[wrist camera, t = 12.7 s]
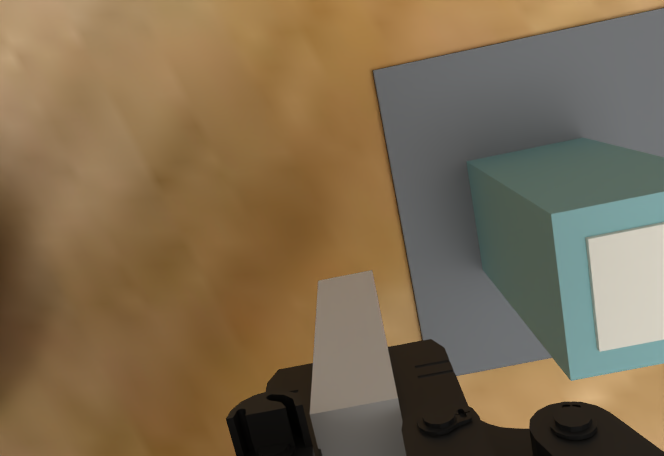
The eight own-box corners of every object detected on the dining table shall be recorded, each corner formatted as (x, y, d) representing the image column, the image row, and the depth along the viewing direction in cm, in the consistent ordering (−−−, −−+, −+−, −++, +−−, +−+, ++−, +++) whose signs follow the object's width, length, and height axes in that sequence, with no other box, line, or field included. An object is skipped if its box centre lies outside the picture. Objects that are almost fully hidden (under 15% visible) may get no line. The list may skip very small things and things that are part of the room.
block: (482, 270, 24) (572, 383, 15) (466, 161, 23) (553, 215, 14) (593, 248, 24) (750, 350, 15) (582, 137, 23) (744, 177, 14)
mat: (429, 376, 26) (430, 380, 25) (372, 70, 23) (373, 70, 22) (830, 299, 25) (838, 303, 25) (830, -28, 22) (839, -30, 21)
